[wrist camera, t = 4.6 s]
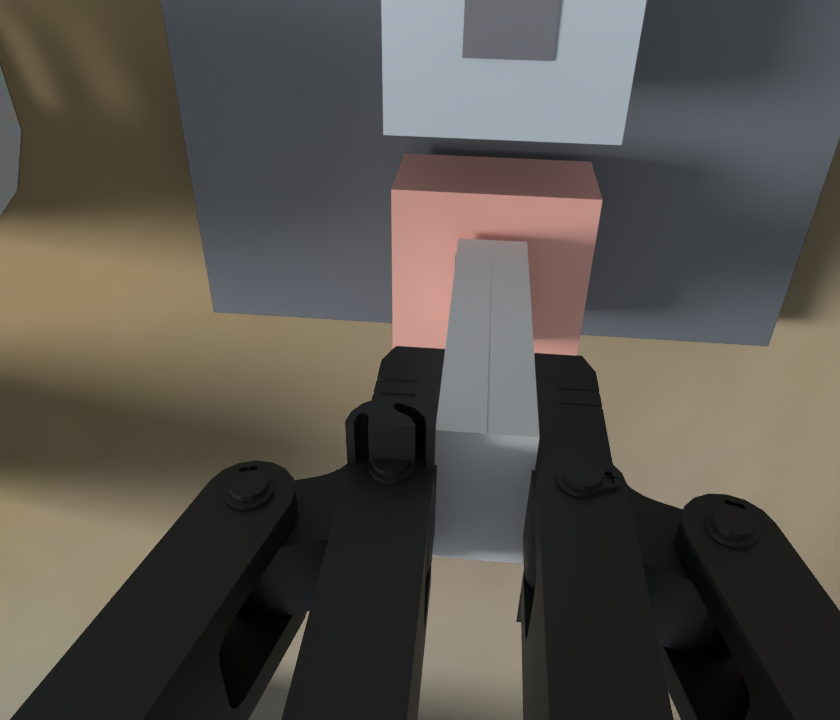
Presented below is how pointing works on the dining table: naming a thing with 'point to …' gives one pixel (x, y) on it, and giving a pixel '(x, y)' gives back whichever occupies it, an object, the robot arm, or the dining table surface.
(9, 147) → the french press
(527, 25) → the grey key
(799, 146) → the keyboard base
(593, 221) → the pink cube
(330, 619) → the robot arm
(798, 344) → the dining table surface
